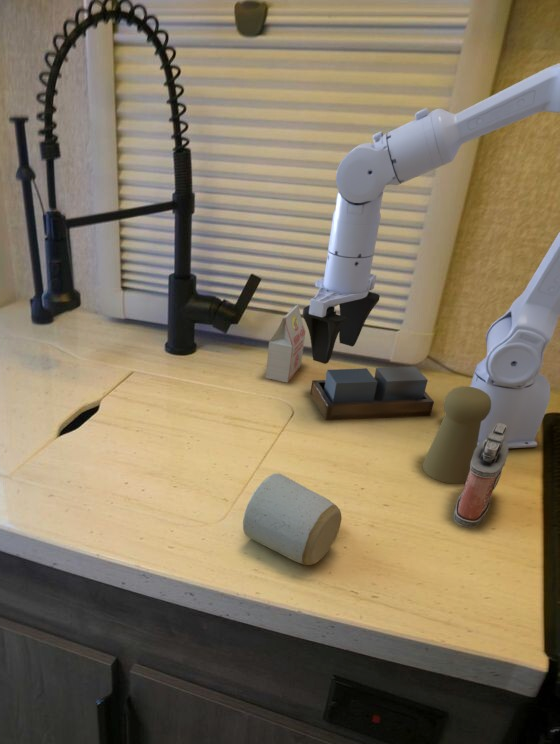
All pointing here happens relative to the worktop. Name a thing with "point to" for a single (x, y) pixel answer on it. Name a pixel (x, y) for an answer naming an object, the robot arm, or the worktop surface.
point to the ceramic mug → (291, 519)
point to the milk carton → (286, 347)
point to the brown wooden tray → (381, 397)
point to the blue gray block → (350, 385)
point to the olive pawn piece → (457, 435)
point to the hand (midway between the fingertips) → (334, 352)
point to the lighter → (482, 478)
